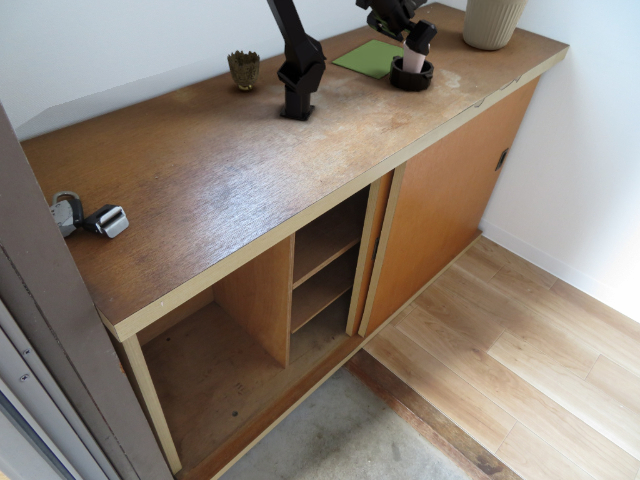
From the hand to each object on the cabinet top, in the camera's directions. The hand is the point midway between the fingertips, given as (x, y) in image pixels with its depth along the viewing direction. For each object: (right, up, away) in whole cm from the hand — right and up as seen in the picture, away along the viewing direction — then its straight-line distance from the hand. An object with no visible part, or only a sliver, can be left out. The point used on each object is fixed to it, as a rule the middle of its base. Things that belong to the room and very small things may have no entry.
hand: (414, 47), depth 107 cm
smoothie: (0, -6, +7) cm, 9 cm away
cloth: (-7, +4, +16) cm, 18 cm away
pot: (0, -6, +7) cm, 9 cm away
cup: (-41, -11, 0) cm, 42 cm away
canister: (+27, +13, +28) cm, 41 cm away
